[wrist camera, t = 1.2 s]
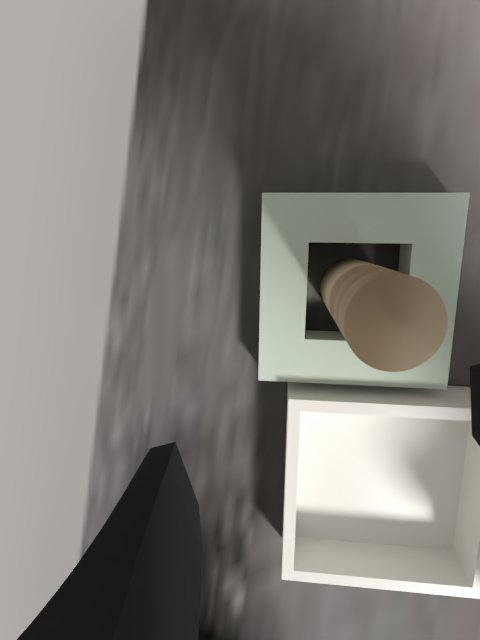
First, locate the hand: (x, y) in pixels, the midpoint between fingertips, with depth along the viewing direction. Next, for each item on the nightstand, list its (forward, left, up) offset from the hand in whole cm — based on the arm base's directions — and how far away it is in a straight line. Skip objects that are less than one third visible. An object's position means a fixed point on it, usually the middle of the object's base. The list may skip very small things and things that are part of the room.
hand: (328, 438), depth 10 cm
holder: (-2, -2, -12) cm, 13 cm away
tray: (-4, +8, -12) cm, 15 cm away
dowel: (-2, -2, -12) cm, 13 cm away
